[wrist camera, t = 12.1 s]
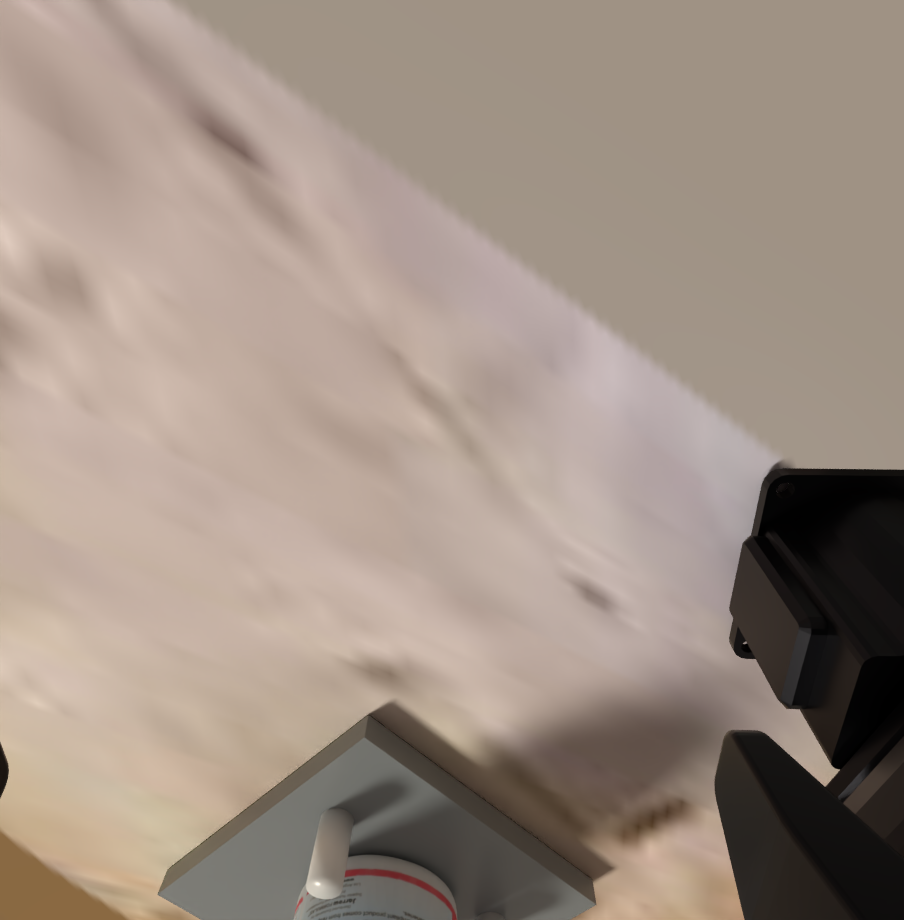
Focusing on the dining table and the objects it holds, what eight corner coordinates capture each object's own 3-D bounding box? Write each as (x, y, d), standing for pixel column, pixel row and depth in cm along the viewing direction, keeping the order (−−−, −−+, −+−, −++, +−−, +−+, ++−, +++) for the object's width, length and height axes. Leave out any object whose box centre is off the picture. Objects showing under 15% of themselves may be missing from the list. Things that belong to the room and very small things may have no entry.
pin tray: (368, 714, 24) (353, 801, 21) (592, 879, 28) (607, 975, 25) (167, 870, 28) (129, 963, 25) (386, 998, 32) (377, 1095, 28)
